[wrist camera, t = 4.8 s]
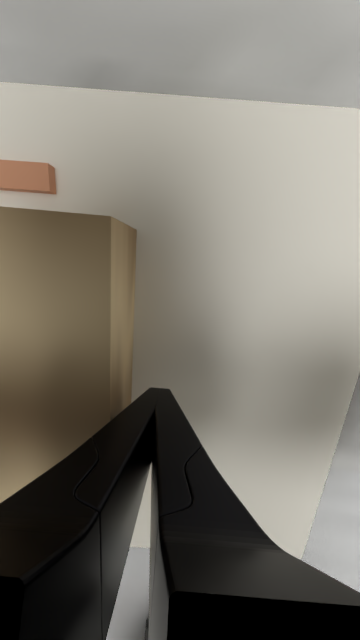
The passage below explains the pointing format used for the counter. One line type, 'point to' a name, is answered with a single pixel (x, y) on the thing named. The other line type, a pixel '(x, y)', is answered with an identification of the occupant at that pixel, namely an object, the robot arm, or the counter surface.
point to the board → (219, 267)
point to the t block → (61, 335)
